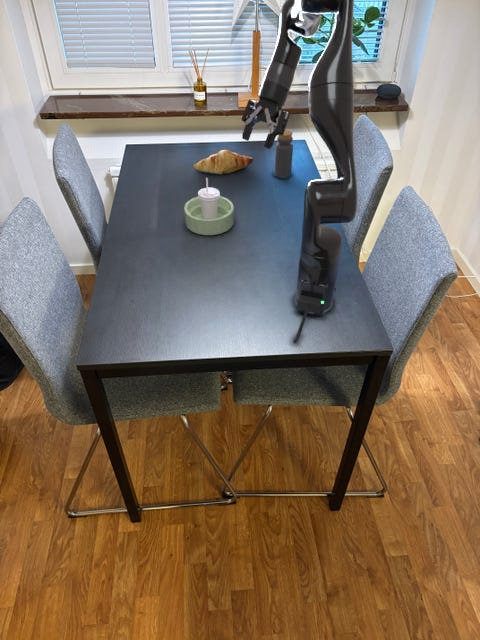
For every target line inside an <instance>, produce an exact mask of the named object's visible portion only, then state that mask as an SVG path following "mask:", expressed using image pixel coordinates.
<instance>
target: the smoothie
mask: <svg viewBox="0 0 480 640" xmlns="http://www.w3.org/2000/svg"><path fill="white" fill-rule="evenodd" d="M220 196H221V193H220V190H219V189H218V188H215V187H209V177H205V187H203V188H201V189H199V190H198V192H197V197H199V198H200V203H201V209H202V214H203V219H216V218H217V209H218V200H219V197H220Z"/></svg>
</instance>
